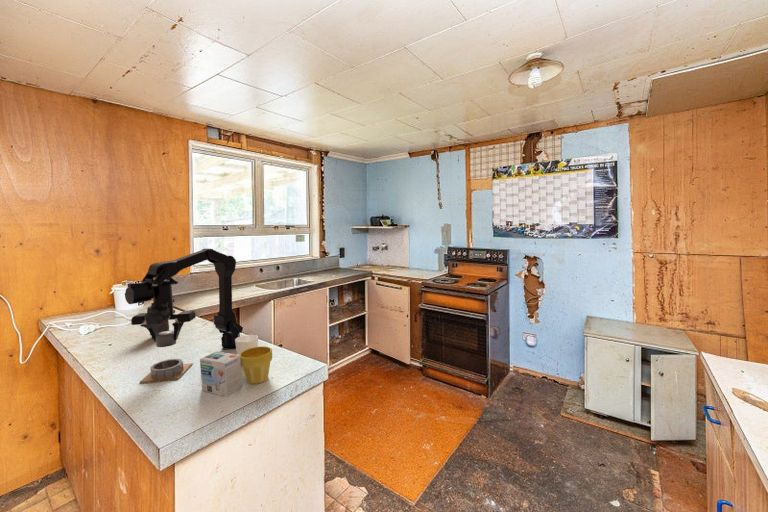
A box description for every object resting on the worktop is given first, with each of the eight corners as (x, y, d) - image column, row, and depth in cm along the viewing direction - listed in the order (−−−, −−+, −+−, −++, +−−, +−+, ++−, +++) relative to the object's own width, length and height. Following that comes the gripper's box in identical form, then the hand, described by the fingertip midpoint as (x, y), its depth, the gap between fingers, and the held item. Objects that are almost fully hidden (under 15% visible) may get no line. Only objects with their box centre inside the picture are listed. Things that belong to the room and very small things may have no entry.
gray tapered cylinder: (179, 340, 121) (178, 329, 120) (171, 346, 115) (170, 334, 114) (161, 341, 120) (160, 330, 119) (152, 347, 114) (151, 336, 113)
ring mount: (192, 364, 124) (191, 356, 123) (178, 379, 112) (177, 370, 112) (157, 367, 122) (156, 359, 121) (139, 383, 110) (138, 373, 110)
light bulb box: (201, 391, 104) (198, 358, 103) (218, 381, 110) (216, 350, 109) (226, 396, 100) (224, 363, 99) (243, 386, 106) (241, 354, 105)
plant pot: (247, 373, 116) (245, 346, 115) (277, 371, 116) (275, 345, 115) (236, 388, 105) (234, 359, 104) (269, 386, 106) (267, 357, 105)
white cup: (237, 370, 118) (235, 343, 117) (236, 362, 125) (234, 336, 124) (260, 365, 122) (259, 339, 121) (258, 357, 129) (256, 333, 128)
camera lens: (160, 340, 151) (156, 308, 150) (145, 339, 153) (142, 308, 151) (174, 334, 159) (171, 304, 158) (160, 333, 161) (157, 303, 159)
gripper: (119, 304, 106) (123, 351, 108) (181, 301, 109) (184, 347, 111) (138, 297, 117) (142, 339, 119) (194, 295, 120) (197, 336, 122)
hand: (166, 340), depth 117 cm, fingers closed on gray tapered cylinder, 6 cm apart
